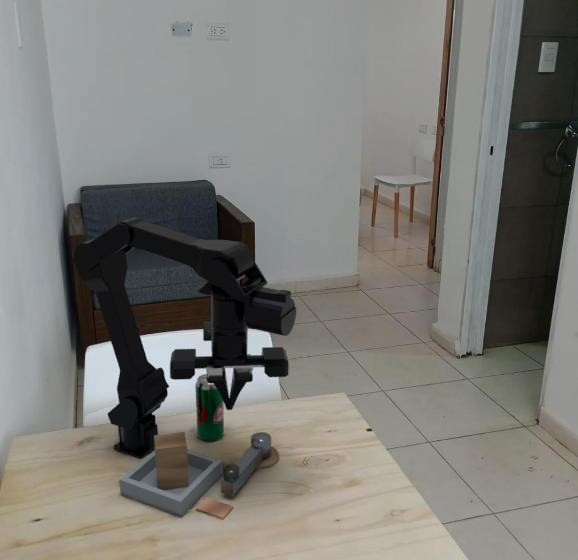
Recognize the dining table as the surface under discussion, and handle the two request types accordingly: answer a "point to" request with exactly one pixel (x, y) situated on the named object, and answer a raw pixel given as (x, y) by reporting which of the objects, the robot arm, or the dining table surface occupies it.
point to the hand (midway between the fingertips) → (229, 408)
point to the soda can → (209, 410)
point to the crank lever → (246, 463)
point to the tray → (174, 501)
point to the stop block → (171, 461)
